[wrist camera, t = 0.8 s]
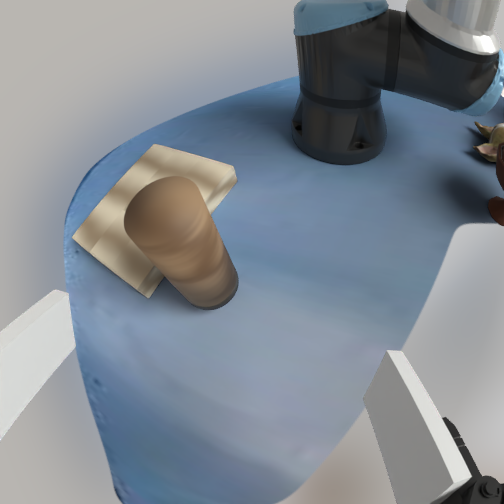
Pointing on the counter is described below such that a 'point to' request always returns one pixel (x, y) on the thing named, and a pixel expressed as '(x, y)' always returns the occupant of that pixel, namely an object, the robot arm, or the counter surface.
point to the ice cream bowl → (498, 206)
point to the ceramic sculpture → (490, 140)
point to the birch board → (118, 198)
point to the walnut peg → (182, 241)
